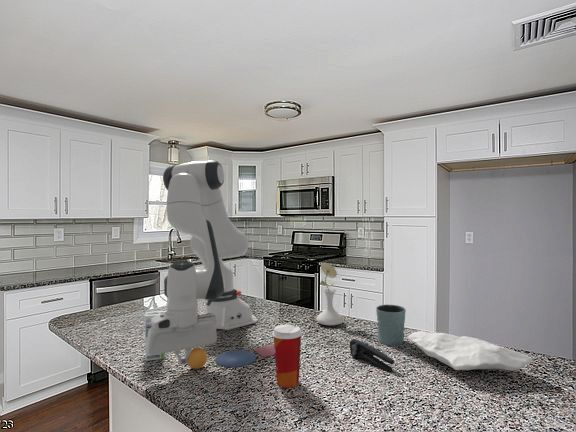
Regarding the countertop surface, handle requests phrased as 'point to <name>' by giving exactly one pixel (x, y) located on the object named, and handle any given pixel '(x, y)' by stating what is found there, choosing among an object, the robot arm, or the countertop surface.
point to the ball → (197, 358)
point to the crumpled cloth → (468, 352)
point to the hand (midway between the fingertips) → (183, 363)
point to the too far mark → (265, 351)
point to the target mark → (235, 358)
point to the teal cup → (391, 324)
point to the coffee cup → (287, 354)
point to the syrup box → (147, 327)
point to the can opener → (370, 354)
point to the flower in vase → (329, 300)
